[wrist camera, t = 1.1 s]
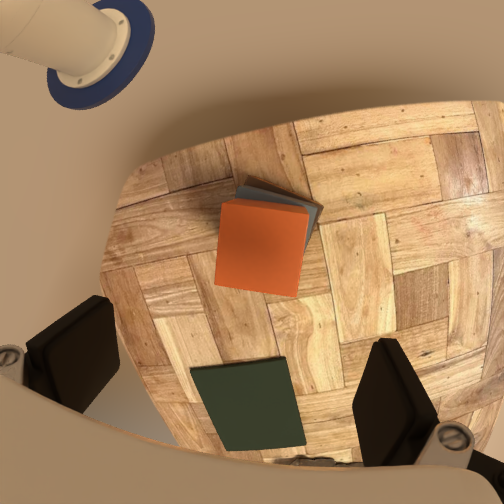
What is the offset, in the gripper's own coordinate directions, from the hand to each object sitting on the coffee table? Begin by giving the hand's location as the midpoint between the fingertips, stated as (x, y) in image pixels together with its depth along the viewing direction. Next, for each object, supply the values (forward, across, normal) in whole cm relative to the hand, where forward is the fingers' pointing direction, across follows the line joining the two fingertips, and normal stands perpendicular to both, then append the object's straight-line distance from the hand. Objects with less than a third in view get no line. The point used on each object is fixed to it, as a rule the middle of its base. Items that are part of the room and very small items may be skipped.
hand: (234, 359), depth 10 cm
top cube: (+13, 0, -2) cm, 13 cm away
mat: (+21, 0, +23) cm, 31 cm away
